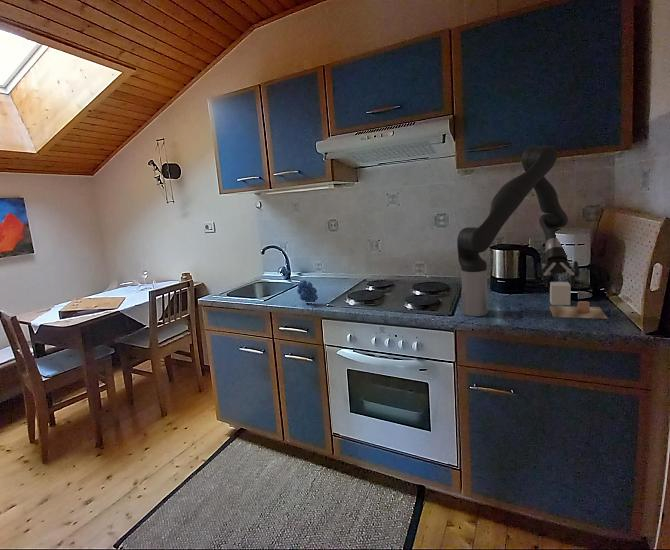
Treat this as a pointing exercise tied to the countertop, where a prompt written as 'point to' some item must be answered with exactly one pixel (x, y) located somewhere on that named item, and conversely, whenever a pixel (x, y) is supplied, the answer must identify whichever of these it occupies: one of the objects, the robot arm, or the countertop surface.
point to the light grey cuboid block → (560, 293)
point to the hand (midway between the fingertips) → (559, 285)
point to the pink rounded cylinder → (583, 307)
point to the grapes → (307, 291)
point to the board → (572, 312)
